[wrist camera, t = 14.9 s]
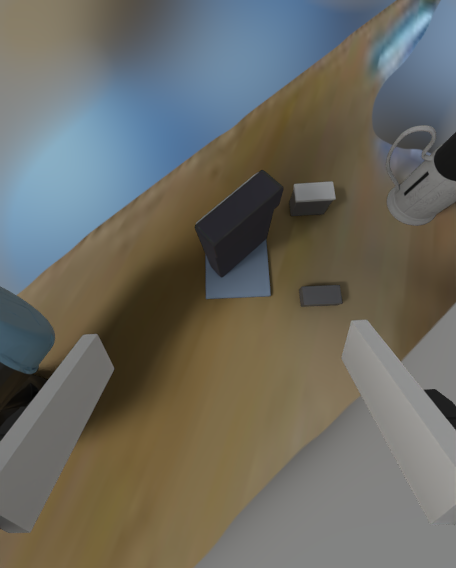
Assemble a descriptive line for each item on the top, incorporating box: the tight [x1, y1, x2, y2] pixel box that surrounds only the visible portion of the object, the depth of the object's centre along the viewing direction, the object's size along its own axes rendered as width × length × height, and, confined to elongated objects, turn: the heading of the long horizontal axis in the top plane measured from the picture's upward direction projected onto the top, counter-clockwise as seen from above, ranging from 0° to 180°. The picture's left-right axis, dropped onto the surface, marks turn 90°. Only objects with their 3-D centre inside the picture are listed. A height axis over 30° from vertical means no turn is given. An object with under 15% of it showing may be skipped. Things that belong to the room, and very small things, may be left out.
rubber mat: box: [206, 240, 271, 299], centre depth 41 cm, size 11×16×1 cm
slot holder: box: [289, 182, 342, 307], centre depth 38 cm, size 6×20×5 cm, turn 2°
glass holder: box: [386, 125, 456, 226], centre depth 35 cm, size 9×14×15 cm, turn 72°
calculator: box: [195, 170, 283, 278], centre depth 33 cm, size 11×4×15 cm, turn 132°
